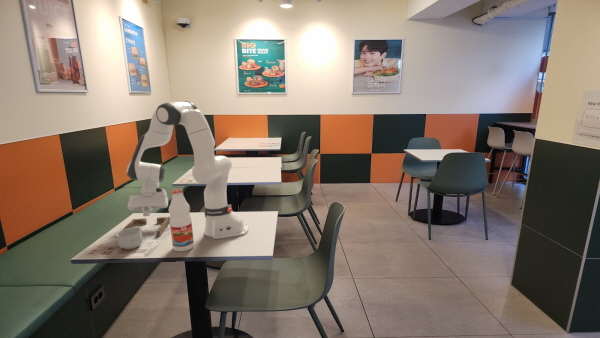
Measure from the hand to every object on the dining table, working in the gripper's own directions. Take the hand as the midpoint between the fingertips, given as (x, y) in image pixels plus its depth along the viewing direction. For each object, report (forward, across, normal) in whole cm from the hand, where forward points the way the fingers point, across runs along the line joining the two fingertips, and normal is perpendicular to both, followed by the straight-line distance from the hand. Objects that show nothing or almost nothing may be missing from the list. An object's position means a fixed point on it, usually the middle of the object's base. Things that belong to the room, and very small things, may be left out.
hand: (146, 215), depth 176 cm
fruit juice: (+24, +24, -12) cm, 36 cm away
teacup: (+19, -1, -8) cm, 21 cm away
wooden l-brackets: (+6, -1, +5) cm, 8 cm away
